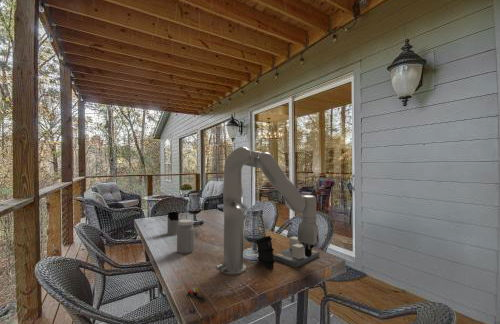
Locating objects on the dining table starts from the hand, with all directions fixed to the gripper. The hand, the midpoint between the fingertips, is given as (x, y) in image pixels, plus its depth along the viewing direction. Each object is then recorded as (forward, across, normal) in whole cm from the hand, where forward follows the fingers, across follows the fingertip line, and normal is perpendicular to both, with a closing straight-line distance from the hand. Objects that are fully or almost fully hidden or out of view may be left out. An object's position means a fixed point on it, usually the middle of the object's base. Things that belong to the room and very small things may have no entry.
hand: (308, 256), depth 126 cm
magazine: (+5, -17, -14) cm, 23 cm away
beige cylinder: (+2, -15, +10) cm, 18 cm away
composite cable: (+6, -14, -57) cm, 59 cm away
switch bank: (+5, -11, +5) cm, 13 cm away
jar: (+5, -61, -34) cm, 70 cm away
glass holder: (+5, -99, -20) cm, 101 cm away
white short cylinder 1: (+2, -6, 0) cm, 6 cm away
